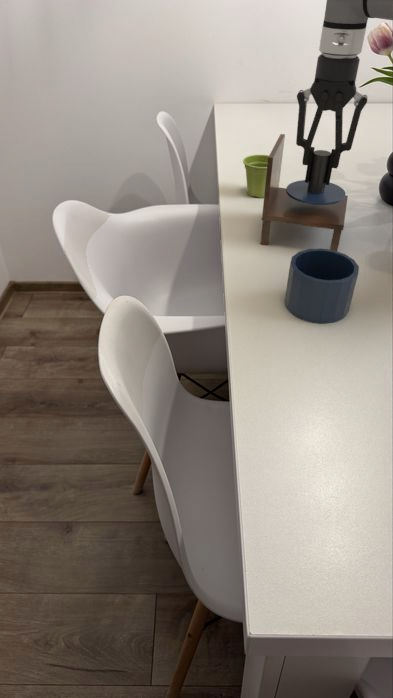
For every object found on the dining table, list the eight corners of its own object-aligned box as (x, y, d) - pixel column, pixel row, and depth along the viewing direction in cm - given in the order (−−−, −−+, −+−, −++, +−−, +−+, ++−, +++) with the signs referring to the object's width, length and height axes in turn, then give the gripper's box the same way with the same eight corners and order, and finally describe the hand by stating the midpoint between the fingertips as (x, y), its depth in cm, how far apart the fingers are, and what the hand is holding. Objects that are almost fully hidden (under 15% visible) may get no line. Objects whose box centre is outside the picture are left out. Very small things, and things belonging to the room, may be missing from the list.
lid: (346, 188, 108) (354, 146, 103) (342, 211, 99) (352, 166, 93) (290, 181, 111) (295, 140, 105) (281, 203, 102) (287, 159, 96)
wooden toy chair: (341, 223, 115) (359, 141, 103) (337, 255, 104) (356, 166, 91) (271, 214, 119) (280, 133, 107) (259, 244, 107) (268, 157, 95)
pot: (349, 293, 93) (359, 253, 87) (346, 328, 84) (357, 287, 79) (289, 283, 95) (295, 244, 90) (280, 317, 87) (286, 276, 81)
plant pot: (251, 203, 124) (254, 169, 119) (234, 189, 131) (236, 157, 125) (282, 197, 127) (287, 164, 122) (264, 184, 134) (267, 152, 128)
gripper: (290, 55, 87) (275, 183, 102) (387, 61, 83) (356, 192, 99) (296, 48, 92) (281, 171, 108) (386, 54, 89) (358, 179, 104)
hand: (317, 181), depth 103 cm, fingers closed on lid, 4 cm apart
